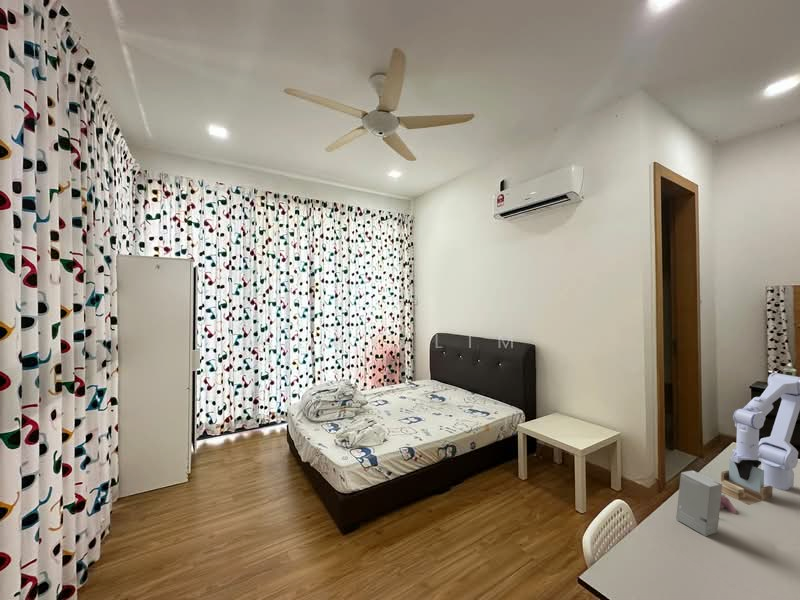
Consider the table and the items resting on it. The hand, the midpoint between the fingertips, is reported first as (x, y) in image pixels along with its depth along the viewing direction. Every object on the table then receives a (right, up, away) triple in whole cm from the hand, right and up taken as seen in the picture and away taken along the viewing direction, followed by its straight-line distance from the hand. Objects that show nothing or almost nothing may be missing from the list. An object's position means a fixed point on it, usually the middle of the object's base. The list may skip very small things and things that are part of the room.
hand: (746, 478), depth 124 cm
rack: (-4, -5, -1) cm, 7 cm away
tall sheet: (0, -3, 0) cm, 3 cm away
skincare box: (-35, -5, -19) cm, 40 cm away
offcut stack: (-8, -4, -3) cm, 10 cm away
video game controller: (-22, -6, -11) cm, 25 cm away
